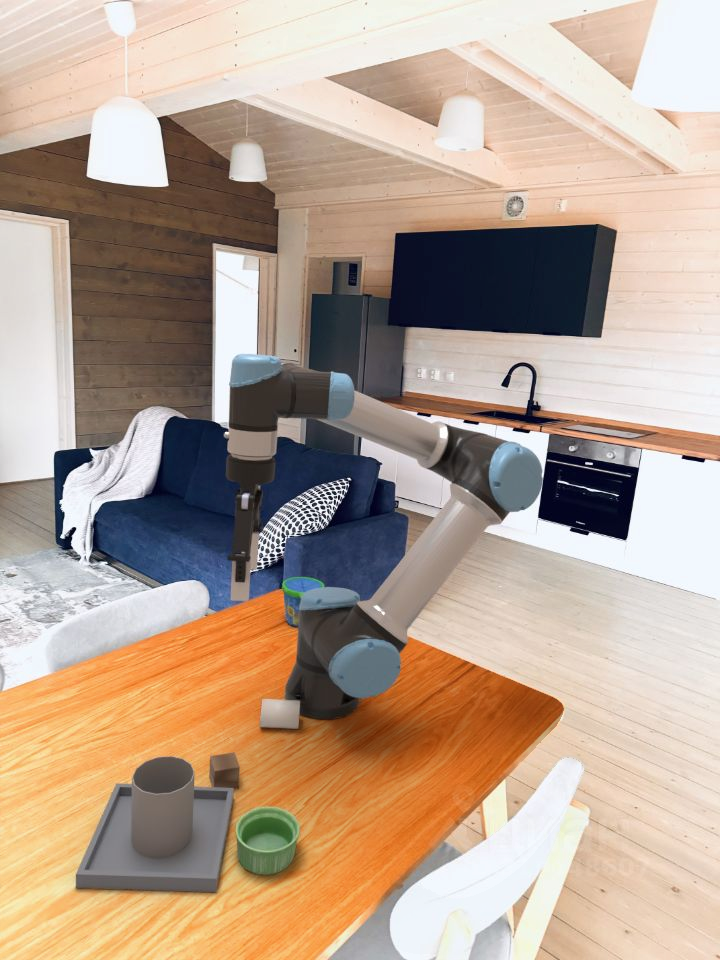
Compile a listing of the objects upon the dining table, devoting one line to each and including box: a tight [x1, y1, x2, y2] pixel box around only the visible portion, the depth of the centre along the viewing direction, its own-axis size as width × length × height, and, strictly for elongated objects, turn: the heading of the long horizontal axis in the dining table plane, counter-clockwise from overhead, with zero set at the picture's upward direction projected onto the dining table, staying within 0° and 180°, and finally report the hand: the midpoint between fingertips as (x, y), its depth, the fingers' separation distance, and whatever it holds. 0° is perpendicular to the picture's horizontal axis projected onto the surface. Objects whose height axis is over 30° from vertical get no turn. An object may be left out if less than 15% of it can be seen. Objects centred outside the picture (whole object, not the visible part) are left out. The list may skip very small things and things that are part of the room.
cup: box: [131, 755, 196, 858], centre depth 98 cm, size 8×8×10 cm
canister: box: [259, 698, 300, 730], centre depth 128 cm, size 7×5×5 cm
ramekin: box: [234, 806, 301, 876], centre depth 97 cm, size 9×9×4 cm
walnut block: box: [208, 751, 241, 790], centre depth 111 cm, size 4×4×4 cm
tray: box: [75, 782, 235, 893], centre depth 98 cm, size 18×18×2 cm
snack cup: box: [281, 576, 326, 628], centre depth 173 cm, size 16×10×10 cm
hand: (244, 583), depth 112 cm, fingers open, 13 cm apart
